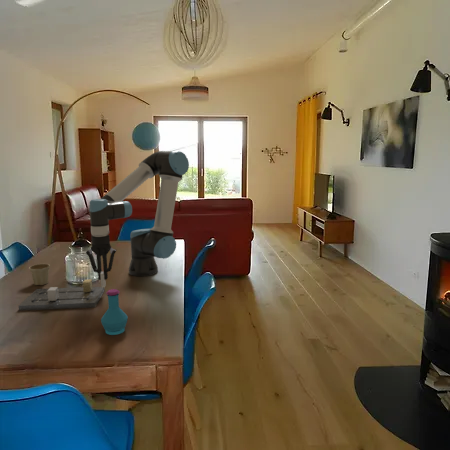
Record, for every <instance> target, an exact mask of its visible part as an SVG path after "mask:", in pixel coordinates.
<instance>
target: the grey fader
mask: <svg viewBox="0 0 450 450" xmlns="http://www.w3.org/2000/svg"><path fill="white" fill-rule="evenodd" d="M58 288H59V287H58V286H54V287H53V286H50V287H48V288H47V289H48V290H47V291H48V301H56V300H57V299H58V297H59V293H58Z"/></svg>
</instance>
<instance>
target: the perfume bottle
mask: <svg viewBox="0 0 450 450" xmlns="http://www.w3.org/2000/svg"><path fill="white" fill-rule="evenodd" d="M120 293H121V291H120V290H118V289H116V288H114V289H113V288H111V289H108V290H107V291H106V292H105V294H106V295H107V301H108V303H107V304H108V308H107V310H106V311H105V312H104V314H103V315H102V317H101V319H100V322H101V323H100V324H101V325H102V327H103V329H104V330H105V334H107V335H111V336H115V335H121V334H123V333H124V332H125V330H126V326H127V323H128V317H129V316H128V315H127V314H126V312H124V310H123V309H121V307H120V302H119V301H120V299H119V296H120Z"/></svg>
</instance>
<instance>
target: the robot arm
mask: <svg viewBox="0 0 450 450" xmlns="http://www.w3.org/2000/svg"><path fill="white" fill-rule="evenodd" d="M189 168H190V161H189V159H188V158H187V155H186V153H184V152H182V151H180V150H158V151H156V152H153V153H151V154H149V156H147V157H146V158H145V159H143V160H142V161H141V162H139V163H138V167H137V168H136V169H134V170H133V171H131V172H130V174H128V175H127V176H126V177H125V178H124V179H122V180H121V181H120V182H119V183H117V184H116V185H115V186H113V187H112V188H111V190H109V191H108V192H107V193H105V194H104V195H103V196H102V197H101V198H97V199H96V198H94V199H91V200H90V201H89V205H88V206H89V209H88V211H89V217H90V218H89V219H90V220H89V221H90V234H91V236H90V237H91V247H90V249H87V250H86V251H85V254H86V255H87V257H88V259H89V262H90V264H91V268H92V271H93V273H97V277H98V278H97V279H98V280H99V281H100V287H101V288H103V287H104V288H105V287H106V285H107V284H106V283H107V282H106V281H107V280H108V277H109V276H108V275H109V274H108V273H109V272H111V270H112V267H113V263H114V260H115V259H114V257H115V254H116V253H117V249H116V248H115V249H114V248H113V247H112V245H111V241H110V235H109V234H110V225H109V222H110V221H112V220H118V219H125V218H128V217H130V216H132V215H133V206H132V204H131V202H130V201H128V200H127V201H126V200H125V199H127V198H128V197H129V196H130V195H132V193H133V192H134V191H136V190H137V189H138V188H140V186H142V185H143V184H144V183H145V182H146V181H147V180H149V179H153V178H154V177H155V176H157V175H158V176H159V178H160V179H161V181H160V187H159V193H158V198H157V206H156V210H155V211H156V212H155V218H154V223H153V227H151V228H141V229H136V230H132V231H131V232H130V237H129V239H130V250H131V253H130V255H131V259H130V264H129V268H128V274H129V275H130V276H133V277H147V276H153V275H155V274H157V273H158V272H159V270H158V269H159V268H158V265H157V262H156V259H155V258H157V259H168V258H170V257H171V256H172V255H173V254H174V253H175V251H176V248H177V241H176V239H175V238H174V237H173V236H174V231H173V230H172V225H173V224H172V223H173V218H174V211H175V205H176V200H177V193H178V187H179V186H178V185H179V183H180V182H181V181H183V176H184V175H186V174H187V172H188V171H189ZM124 200H125V201H124ZM109 252H110V257H109V262H108V259H107V257H108V253H109ZM93 254H95V257H94V255H93ZM95 258H96V261H95ZM102 266H103V270H102Z"/></svg>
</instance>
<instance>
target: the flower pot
mask: <svg viewBox="0 0 450 450" xmlns="http://www.w3.org/2000/svg"><path fill="white" fill-rule="evenodd" d="M50 267H51V265H50V264H49V263H38V264H33V265H31V266H29V267H28V270H29V272H30V273H31V274H30V275H31V278H32V281H33V284H34V286H39V285H40V286H44V285H46V284H48V283H49V271H50Z"/></svg>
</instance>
